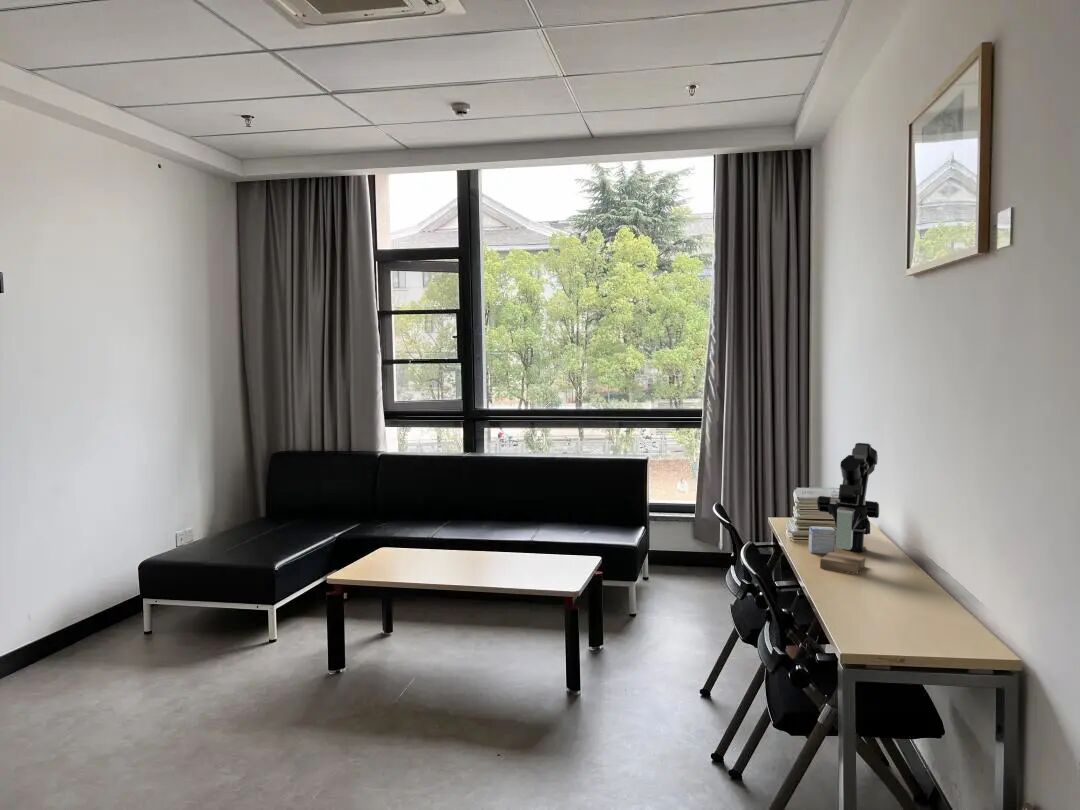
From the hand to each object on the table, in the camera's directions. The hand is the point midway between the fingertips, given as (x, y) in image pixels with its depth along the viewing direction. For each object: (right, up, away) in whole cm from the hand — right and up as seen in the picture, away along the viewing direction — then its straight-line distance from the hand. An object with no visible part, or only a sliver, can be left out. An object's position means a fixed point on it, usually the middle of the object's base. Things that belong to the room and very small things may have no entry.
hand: (844, 528), depth 249 cm
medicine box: (0, -12, +20) cm, 23 cm away
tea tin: (+1, -6, +2) cm, 7 cm away
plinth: (0, -13, +2) cm, 13 cm away
